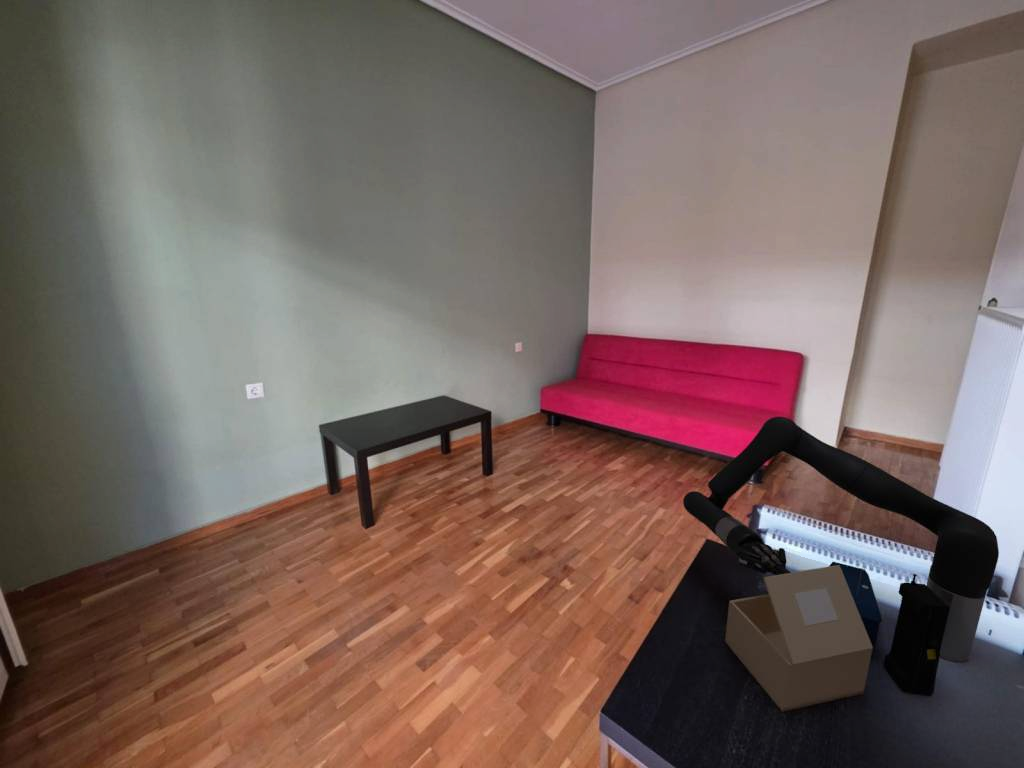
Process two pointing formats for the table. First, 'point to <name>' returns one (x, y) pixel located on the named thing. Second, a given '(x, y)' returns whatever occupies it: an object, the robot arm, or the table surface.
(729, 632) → the kraft carton
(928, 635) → the portable radio
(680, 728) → the table surface
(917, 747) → the table surface
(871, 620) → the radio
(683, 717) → the table surface
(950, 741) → the table surface
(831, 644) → the carton flap
